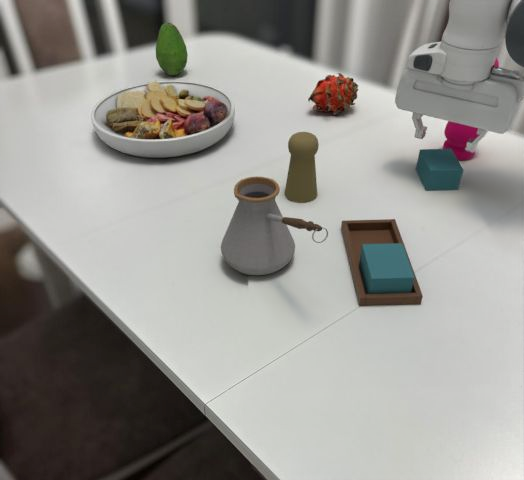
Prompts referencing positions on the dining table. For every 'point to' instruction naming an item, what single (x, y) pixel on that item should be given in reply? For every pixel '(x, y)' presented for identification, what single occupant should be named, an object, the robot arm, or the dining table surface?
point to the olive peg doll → (302, 168)
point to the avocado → (171, 50)
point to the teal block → (385, 269)
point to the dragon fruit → (334, 94)
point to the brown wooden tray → (353, 240)
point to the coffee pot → (260, 229)
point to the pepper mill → (460, 136)
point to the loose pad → (439, 169)
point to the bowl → (163, 118)
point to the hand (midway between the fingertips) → (444, 143)
